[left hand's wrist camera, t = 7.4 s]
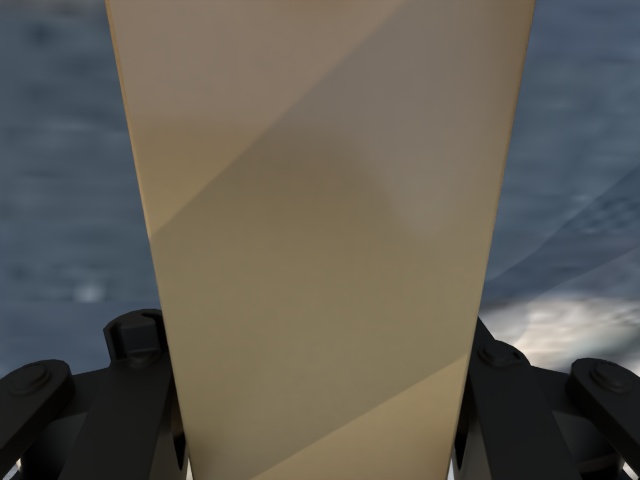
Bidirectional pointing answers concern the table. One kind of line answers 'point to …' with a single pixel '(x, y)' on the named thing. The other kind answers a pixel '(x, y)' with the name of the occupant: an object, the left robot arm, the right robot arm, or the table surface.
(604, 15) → the table surface
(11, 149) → the table surface
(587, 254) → the table surface
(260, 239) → the pine batten
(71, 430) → the left robot arm
